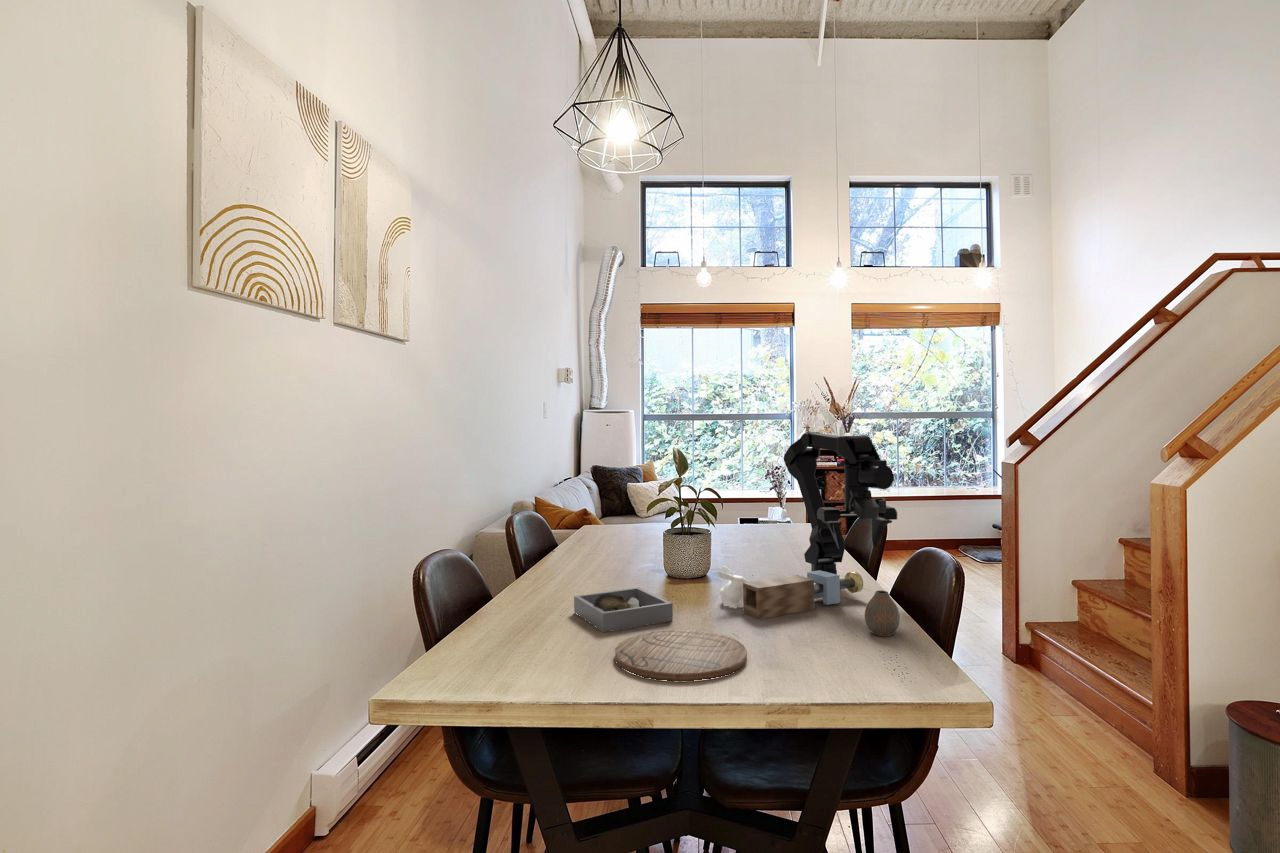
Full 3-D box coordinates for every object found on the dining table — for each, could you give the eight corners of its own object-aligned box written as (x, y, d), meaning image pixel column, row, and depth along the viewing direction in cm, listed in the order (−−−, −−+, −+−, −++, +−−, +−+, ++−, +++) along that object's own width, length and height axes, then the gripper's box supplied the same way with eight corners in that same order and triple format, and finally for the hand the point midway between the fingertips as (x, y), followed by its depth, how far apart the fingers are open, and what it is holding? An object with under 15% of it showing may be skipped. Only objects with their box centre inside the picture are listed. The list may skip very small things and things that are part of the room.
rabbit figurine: (753, 611, 163) (752, 570, 163) (722, 613, 162) (721, 572, 162) (739, 599, 175) (738, 560, 175) (710, 601, 174) (709, 562, 174)
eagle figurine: (613, 608, 163) (586, 609, 156) (628, 585, 161) (602, 585, 154) (631, 631, 158) (605, 634, 152) (647, 607, 157) (622, 609, 150)
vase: (894, 628, 148) (894, 587, 148) (904, 639, 141) (903, 596, 141) (861, 628, 149) (861, 587, 149) (869, 638, 142) (868, 595, 142)
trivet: (730, 691, 116) (730, 680, 116) (593, 674, 125) (593, 664, 125) (758, 645, 140) (758, 636, 140) (641, 633, 148) (641, 624, 148)
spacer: (820, 596, 173) (819, 570, 173) (840, 602, 166) (839, 575, 167) (807, 598, 171) (807, 572, 171) (827, 604, 165) (826, 577, 165)
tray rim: (574, 613, 164) (574, 596, 164) (638, 603, 171) (638, 587, 171) (603, 632, 148) (603, 613, 148) (672, 620, 156) (672, 603, 156)
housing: (759, 619, 156) (758, 588, 156) (743, 612, 162) (743, 582, 162) (814, 609, 164) (814, 579, 164) (797, 603, 169) (797, 574, 169)
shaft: (799, 604, 162) (799, 583, 162) (785, 600, 167) (785, 579, 167) (863, 594, 171) (863, 573, 171) (848, 589, 176) (848, 570, 176)
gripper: (832, 489, 164) (833, 555, 165) (907, 488, 166) (908, 553, 166) (815, 485, 175) (816, 546, 176) (886, 483, 177) (887, 544, 178)
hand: (857, 548), depth 174 cm, fingers open, 9 cm apart
